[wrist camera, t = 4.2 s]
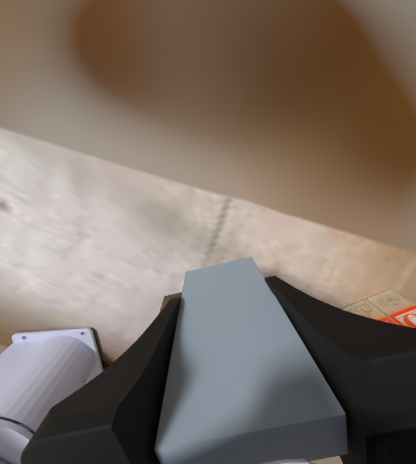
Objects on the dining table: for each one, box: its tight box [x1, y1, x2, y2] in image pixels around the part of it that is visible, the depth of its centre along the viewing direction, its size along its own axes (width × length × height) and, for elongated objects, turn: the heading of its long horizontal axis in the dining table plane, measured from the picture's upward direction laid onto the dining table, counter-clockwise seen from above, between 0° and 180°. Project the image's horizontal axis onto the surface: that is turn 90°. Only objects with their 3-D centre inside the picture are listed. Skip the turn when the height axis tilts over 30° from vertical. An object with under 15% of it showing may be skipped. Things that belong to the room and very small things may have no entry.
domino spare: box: [154, 257, 348, 464], centre depth 10 cm, size 2×5×10 cm, turn 103°
